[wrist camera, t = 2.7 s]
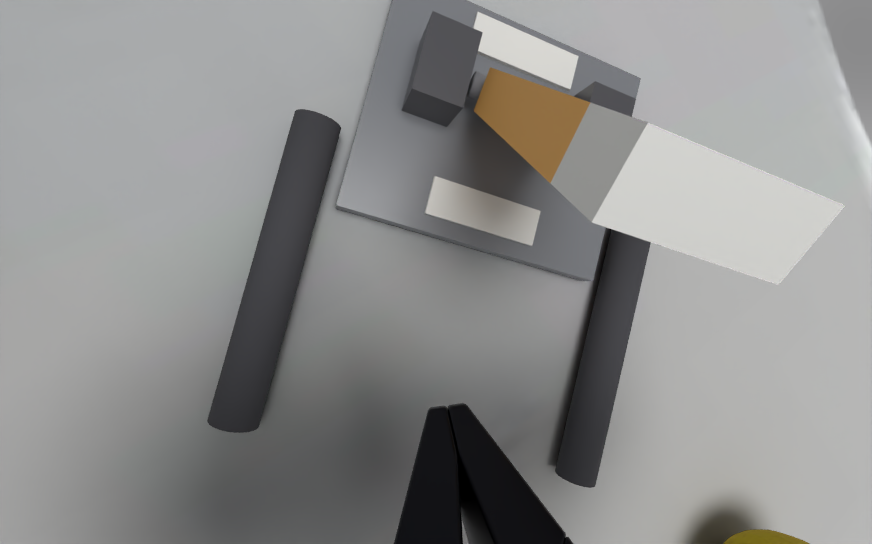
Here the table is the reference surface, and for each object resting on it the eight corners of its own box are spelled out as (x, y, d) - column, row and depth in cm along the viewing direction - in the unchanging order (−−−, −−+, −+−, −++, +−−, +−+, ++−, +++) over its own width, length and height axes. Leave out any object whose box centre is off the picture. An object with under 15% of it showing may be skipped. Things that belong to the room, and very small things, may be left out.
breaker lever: (554, 137, 19) (786, 287, 8) (462, 102, 18) (580, 218, 7) (571, 101, 18) (853, 208, 7) (477, 62, 17) (636, 117, 6)
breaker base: (580, 280, 21) (625, 282, 18) (335, 208, 18) (337, 195, 15) (626, 86, 21) (677, 56, 18) (396, -14, 18) (410, -71, 15)
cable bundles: (580, 471, 21) (603, 489, 19) (214, 410, 17) (201, 427, 15) (634, 234, 21) (662, 231, 20) (296, 120, 17) (293, 104, 16)
